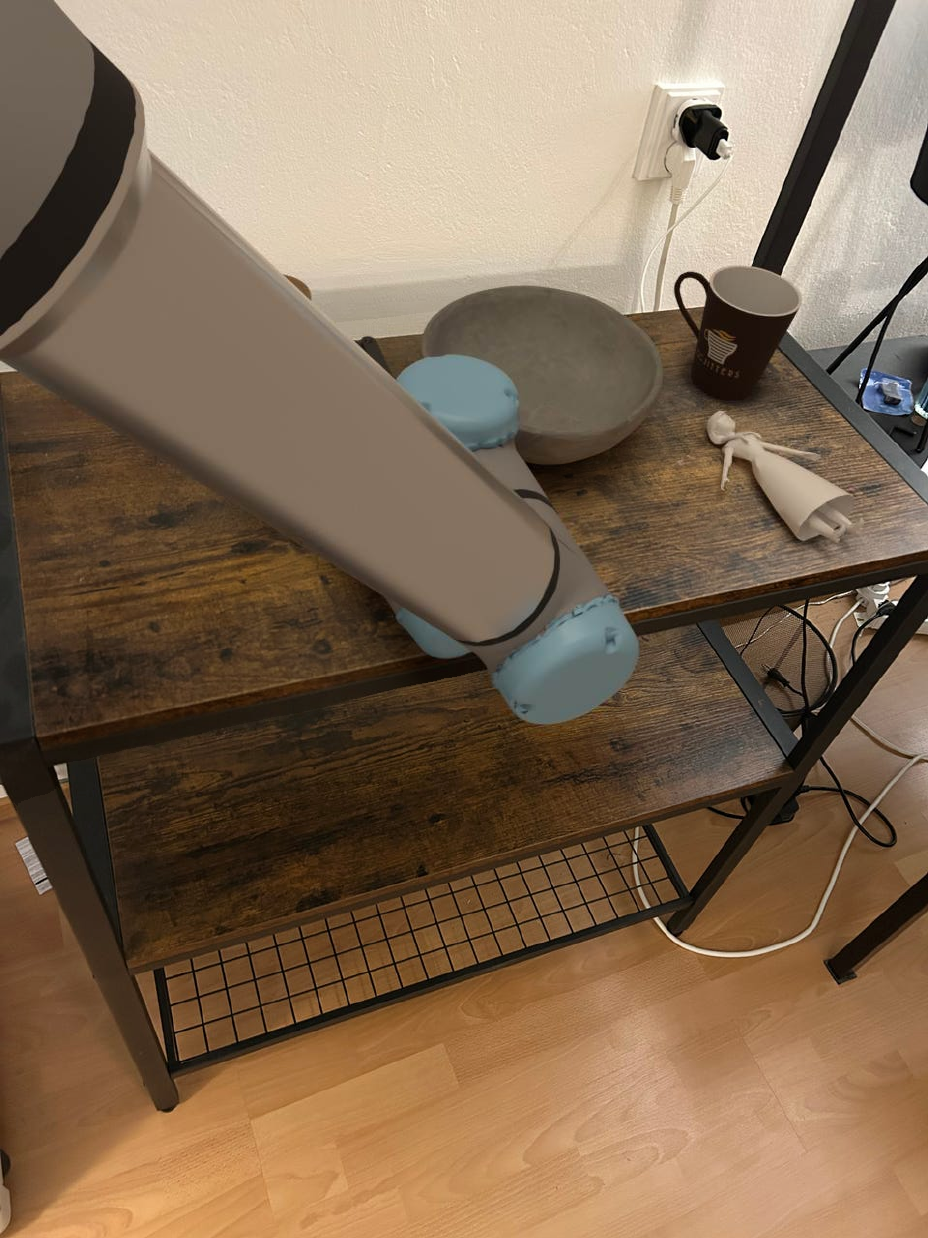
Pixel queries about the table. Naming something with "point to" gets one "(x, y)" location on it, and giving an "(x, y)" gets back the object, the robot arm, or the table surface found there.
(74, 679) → the table surface
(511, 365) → the bowl
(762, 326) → the coffee mug
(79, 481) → the table surface
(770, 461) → the woman figurine
